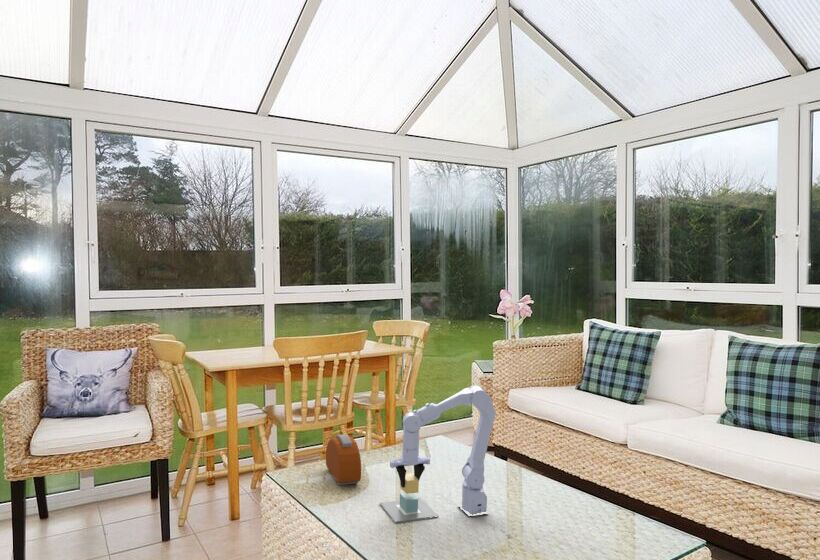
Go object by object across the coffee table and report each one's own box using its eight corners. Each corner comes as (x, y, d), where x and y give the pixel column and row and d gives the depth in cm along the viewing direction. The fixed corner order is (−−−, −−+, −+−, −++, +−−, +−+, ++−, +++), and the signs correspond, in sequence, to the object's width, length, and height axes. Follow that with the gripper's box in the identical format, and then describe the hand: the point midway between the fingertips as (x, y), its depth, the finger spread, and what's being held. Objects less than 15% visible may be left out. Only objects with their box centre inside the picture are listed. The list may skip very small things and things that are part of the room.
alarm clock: (361, 486, 223) (362, 443, 222) (338, 488, 219) (340, 445, 219) (345, 466, 244) (346, 427, 244) (324, 468, 241) (326, 428, 241)
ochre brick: (418, 492, 199) (418, 479, 199) (406, 493, 198) (407, 481, 197) (411, 485, 205) (412, 473, 205) (400, 487, 204) (400, 474, 203)
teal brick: (417, 511, 199) (418, 498, 199) (406, 513, 198) (406, 500, 198) (410, 504, 205) (411, 491, 205) (399, 505, 204) (400, 493, 204)
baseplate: (438, 517, 197) (438, 515, 197) (394, 523, 191) (395, 521, 191) (420, 499, 212) (420, 497, 212) (379, 504, 206) (379, 502, 206)
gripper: (425, 442, 207) (423, 479, 208) (387, 445, 202) (386, 483, 202) (433, 448, 201) (431, 486, 201) (394, 452, 196) (392, 491, 196)
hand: (409, 485), depth 201 cm, fingers closed on ochre brick, 4 cm apart
